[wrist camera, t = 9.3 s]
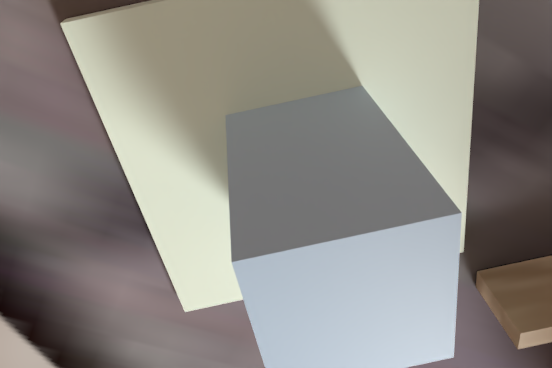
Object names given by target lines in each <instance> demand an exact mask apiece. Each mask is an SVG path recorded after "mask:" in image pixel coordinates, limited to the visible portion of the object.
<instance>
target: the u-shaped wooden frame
mask: <svg viewBox="0 0 552 368" xmlns="http://www.w3.org/2000/svg"><path fill="white" fill-rule="evenodd" d="M476 288H477V289H478V291H479V292H480V294H481V295H482V297H483V298H484V300H485V301H486V303H487V304H488V306H489V307H490V309H491V310H492V312H493V313H494V315H495V316H496V318H497V319H498V321H499V322H500V324H501V325H502V327H503V328H504V330H505V331H506V333H507V334H508V336H509V337H510V339H511V340H512V342H513V343H514V345H515V346H516V348H517V349H522V348H527V347H532V346H536V345H541V344H546V343H550V342H552V255H551V256H546V257H542V258H537V259H532V260H528V261H523V262H518V263H514V264H509V265H504V266H500V267H495V268H491V269H486V270H481V271H477V279H476Z"/></svg>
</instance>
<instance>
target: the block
mask: <svg viewBox="0 0 552 368" xmlns="http://www.w3.org/2000/svg"><path fill="white" fill-rule="evenodd" d="M225 116H226V140H227V165H228V189H229V214H230V238H231V262H232V265H233V269H234V272H235V275H236V278H237V281H238V284H239V287H240V290H241V294H242V297H243V300H244V303H245V306H246V309H247V312H248V315H249V319H250V322H251V325H252V328H253V331H254V334H255V337H256V340H257V344H258V347H259V350H260V353H261V356H262V359H263V362H264V365H265V368H406V367H411V366H415V365H420V364H425V363H430V362H434V361H439V360H444V359H448V358H453V357H454V344H455V326H456V308H457V290H458V272H459V254H460V236H461V218H462V212H461V211H460V210H459V209H458V207H457V206H456V205H455V204H454V202H453V201H452V200H451V198H450V197H449V196H448V195H447V193H446V192H445V191H444V189H443V188H442V187H441V186H440V184H439V183H438V182H437V181H436V179H435V178H434V177H433V175H432V174H431V173H430V172H429V170H428V169H427V168H426V166H425V165H424V164H423V163H422V161H421V160H420V159H419V157H418V156H417V155H416V154H415V152H414V151H413V150H412V149H411V147H410V146H409V145H408V143H407V142H406V141H405V140H404V138H403V137H402V136H401V134H400V133H399V132H398V131H397V129H396V128H395V127H394V125H393V124H392V123H391V122H390V120H389V119H388V118H387V117H386V115H385V114H384V113H383V111H382V110H381V109H380V108H379V106H378V105H377V104H376V102H375V101H374V100H373V99H372V97H371V96H370V95H369V94H368V92H367V91H366V90H365V88H364V87H363V86H358V87H354V88H349V89H344V90H340V91H335V92H330V93H326V94H321V95H317V96H312V97H307V98H303V99H298V100H293V101H289V102H284V103H280V104H275V105H270V106H266V107H261V108H256V109H252V110H247V111H243V112H238V113H233V114H229V115H225Z"/></svg>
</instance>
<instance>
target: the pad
mask: <svg viewBox="0 0 552 368" xmlns="http://www.w3.org/2000/svg"><path fill="white" fill-rule="evenodd" d="M478 11H479V0H150V1H145V2H141V3H136V4H132V5H127V6H122V7H118V8H113V9H109V10H104V11H99V12H95V13H90V14H86V15H81V16H77V17H72V18H67V19H65V20H64V21H63V22H61V23H60V24H61V27H62V29H63V31H64V34H65V36H66V38H67V41H68V43H69V45H70V48H71V50H72V52H73V55H74V57H75V59H76V61H77V64H78V66H79V68H80V71H81V73H82V75H83V78H84V80H85V82H86V85H87V87H88V89H89V91H90V94H91V96H92V98H93V101H94V103H95V105H96V108H97V110H98V112H99V115H100V117H101V119H102V122H103V124H104V126H105V128H106V131H107V133H108V135H109V138H110V140H111V142H112V145H113V147H114V149H115V152H116V154H117V156H118V158H119V161H120V163H121V165H122V168H123V170H124V172H125V175H126V177H127V179H128V182H129V184H130V186H131V188H132V191H133V193H134V195H135V198H136V200H137V202H138V205H139V207H140V209H141V212H142V214H143V216H144V219H145V221H146V223H147V225H148V228H149V230H150V232H151V235H152V237H153V239H154V242H155V244H156V246H157V249H158V251H159V253H160V255H161V258H162V260H163V262H164V265H165V267H166V269H167V272H168V274H169V276H170V279H171V281H172V283H173V286H174V288H175V290H176V292H177V295H178V297H179V299H180V302H181V304H182V306H183V309H184V311H185V312H187V311H192V310H197V309H201V308H206V307H211V306H215V305H220V304H225V303H229V302H234V301H239V300H243V297H242V294H241V290H240V287H239V284H238V281H237V278H236V275H235V272H234V269H233V265H232V262H231V238H230V214H229V189H228V165H227V140H226V116H225V115H229V114H233V113H238V112H243V111H247V110H252V109H256V108H261V107H266V106H270V105H275V104H280V103H284V102H289V101H293V100H298V99H303V98H307V97H312V96H317V95H321V94H326V93H330V92H335V91H340V90H344V89H349V88H354V87H358V86H363V87H364V88H365V90H366V91H367V92H368V94H369V95H370V96H371V97H372V99H373V100H374V101H375V102H376V104H377V105H378V106H379V108H380V109H381V110H382V111H383V113H384V114H385V115H386V117H387V118H388V119H389V120H390V122H391V123H392V124H393V125H394V127H395V128H396V129H397V131H398V132H399V133H400V134H401V136H402V137H403V138H404V140H405V141H406V142H407V143H408V145H409V146H410V147H411V149H412V150H413V151H414V152H415V154H416V155H417V156H418V157H419V159H420V160H421V161H422V163H423V164H424V165H425V166H426V168H427V169H428V170H429V172H430V173H431V174H432V175H433V177H434V178H435V179H436V181H437V182H438V183H439V184H440V186H441V187H442V188H443V189H444V191H445V192H446V193H447V195H448V196H449V197H450V198H451V200H452V201H453V202H454V204H455V205H456V206H457V207H458V209H459V210H460V211H461V212H462V218H461V236H460V253H462V252H464V239H465V223H466V206H467V190H468V174H469V158H470V141H471V125H472V109H473V93H474V76H475V60H476V44H477V28H478Z"/></svg>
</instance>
